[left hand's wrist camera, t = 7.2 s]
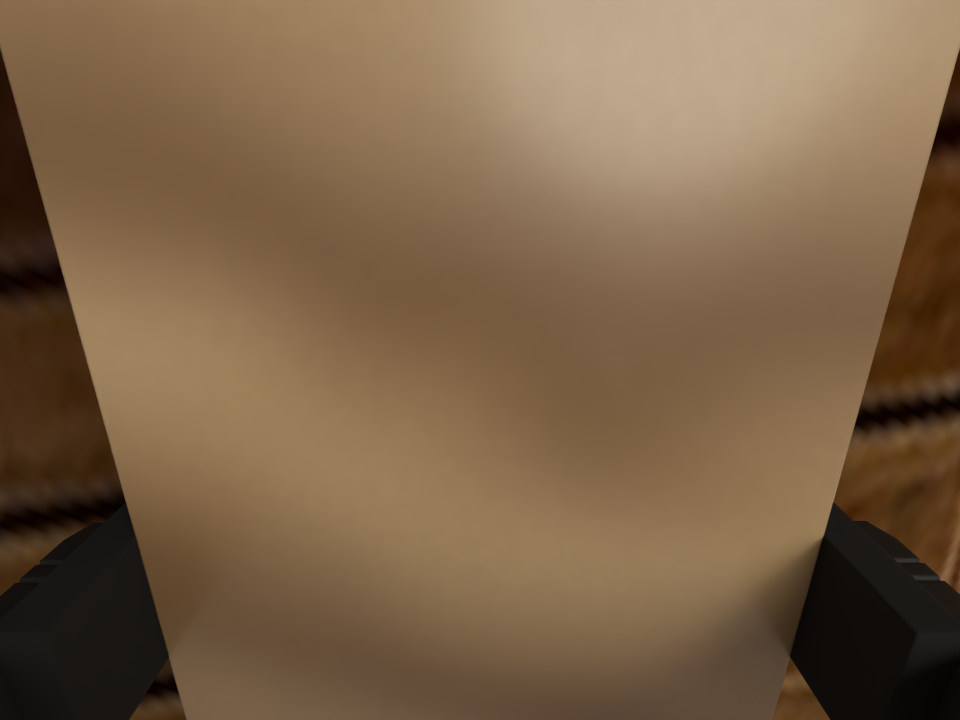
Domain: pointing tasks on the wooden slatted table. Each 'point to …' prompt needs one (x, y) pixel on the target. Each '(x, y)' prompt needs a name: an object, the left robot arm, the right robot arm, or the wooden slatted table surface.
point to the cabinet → (479, 329)
